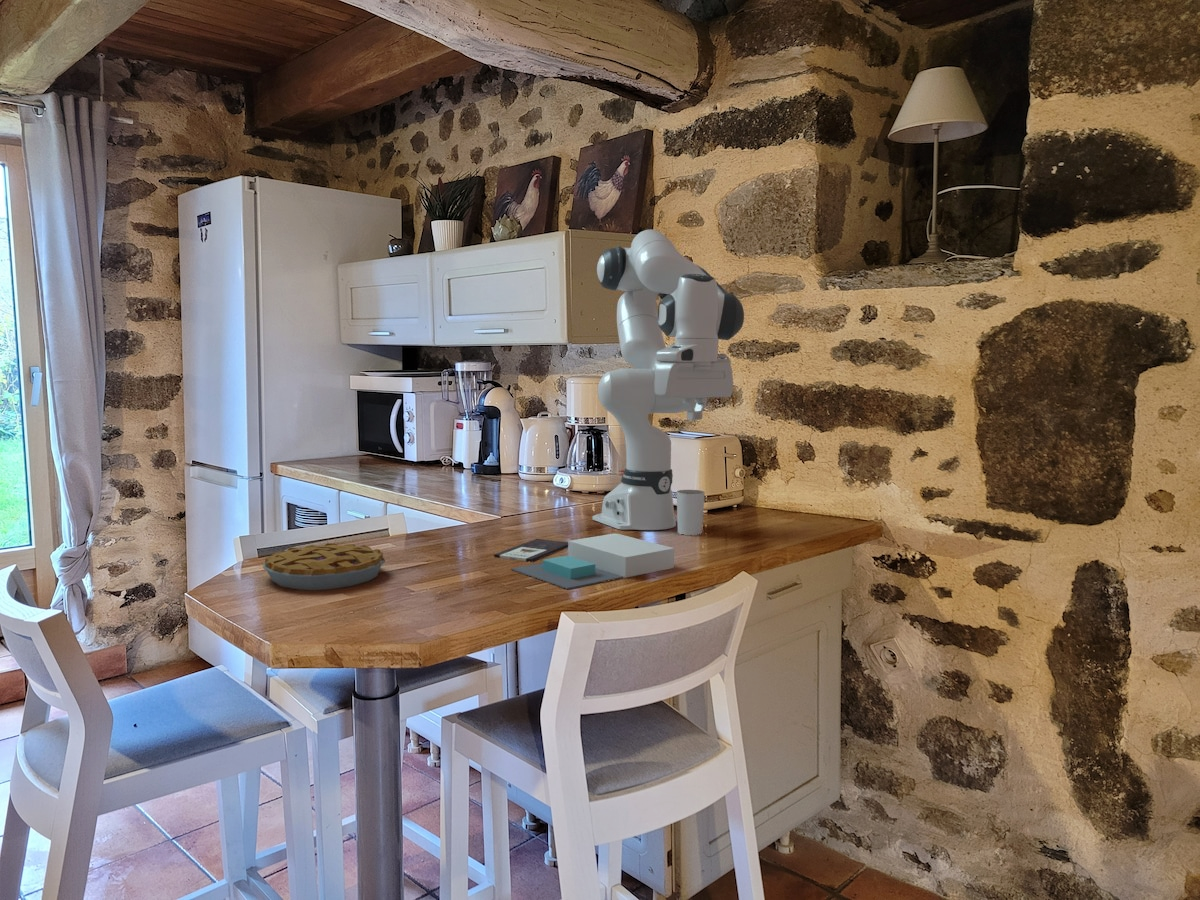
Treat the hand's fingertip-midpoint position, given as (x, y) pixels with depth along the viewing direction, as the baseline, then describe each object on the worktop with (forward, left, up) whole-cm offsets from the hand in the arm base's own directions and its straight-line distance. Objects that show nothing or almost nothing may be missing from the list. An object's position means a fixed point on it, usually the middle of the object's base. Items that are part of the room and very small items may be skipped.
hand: (694, 419), depth 184 cm
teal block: (-4, -30, -27) cm, 40 cm away
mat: (-4, -30, -29) cm, 42 cm away
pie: (-30, -68, -30) cm, 80 cm away
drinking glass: (-17, +17, -29) cm, 38 cm away
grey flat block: (-4, -16, -29) cm, 34 cm away
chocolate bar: (-24, -24, -30) cm, 45 cm away
